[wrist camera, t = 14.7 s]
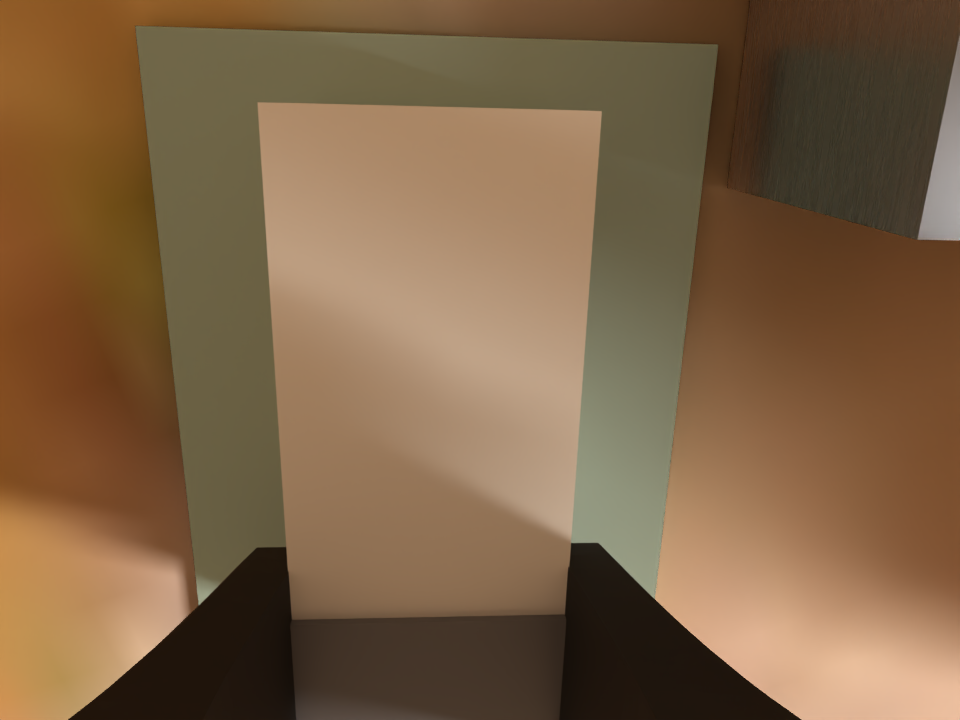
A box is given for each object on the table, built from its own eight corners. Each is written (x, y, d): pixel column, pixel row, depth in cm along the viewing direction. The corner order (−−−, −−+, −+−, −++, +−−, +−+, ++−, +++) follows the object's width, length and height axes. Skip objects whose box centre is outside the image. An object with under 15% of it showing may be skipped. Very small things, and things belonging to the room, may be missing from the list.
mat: (710, 45, 11) (718, 44, 11) (641, 668, 14) (645, 679, 14) (143, 28, 10) (135, 25, 10) (212, 679, 14) (207, 691, 14)
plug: (554, 109, 11) (608, 111, 8) (527, 611, 14) (559, 775, 10) (306, 103, 11) (250, 102, 7) (329, 615, 13) (296, 784, 10)
